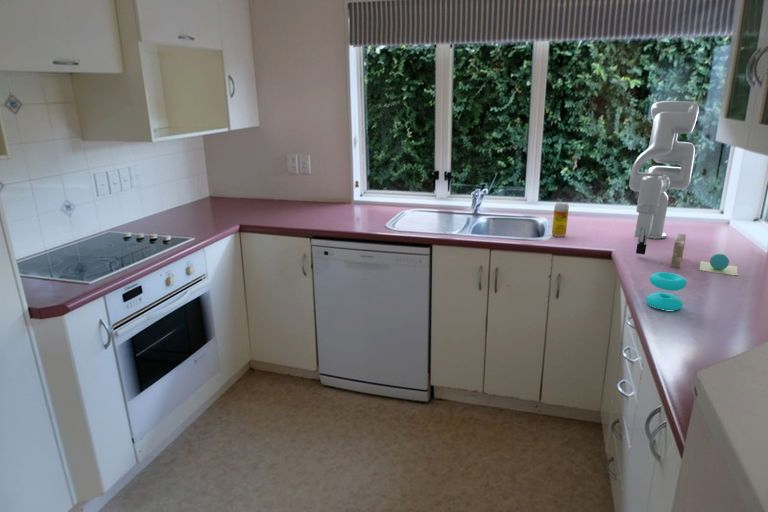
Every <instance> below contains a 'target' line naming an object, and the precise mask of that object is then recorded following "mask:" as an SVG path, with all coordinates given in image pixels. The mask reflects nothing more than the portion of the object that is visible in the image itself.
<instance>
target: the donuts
mask: <svg viewBox="0 0 768 512" xmlns="http://www.w3.org/2000/svg"><path fill="white" fill-rule="evenodd" d="M649 282H650V284H652V286H654V287H656V288H657V289H660V290H664V291H671V292H673V291H675V292H676V291H680V290H683V289H684V288H685V287H687V283H688V281H687V280H686V278H685V277H683V276H681V275H680V274H677V273H673V272H667V271H665V272H664V271H659V272H658V271H657V272H655V273H653V274H651V275H650V277H649ZM645 301H646V304H647V305H648V304H649V305H651V306H653V307H656V308H659V309H664V310H678V309H680V310H681V309H682V308H683V305H684V303H683V301H682V299H681V298H680V297H678V296H677V295H674V294H673V293H668V292H662V291H661V292H653V293H650V294H649V295H648V296H646V300H645ZM649 305H648V306H649ZM651 306H650V307H651ZM678 311H679V310H678Z"/></svg>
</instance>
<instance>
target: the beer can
mask: <svg viewBox="0 0 768 512" xmlns="http://www.w3.org/2000/svg"><path fill="white" fill-rule="evenodd" d="M569 207H570V206H569V203H568V202H563V201H557V202H555V204H554V209H553V219H552V228H551V234H552V236H553V235H554V237H556V236H557V238H563V236H564V237H565V236H566V235H567V227H568V219H569V218H568V217H569V209H570V208H569Z"/></svg>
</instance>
